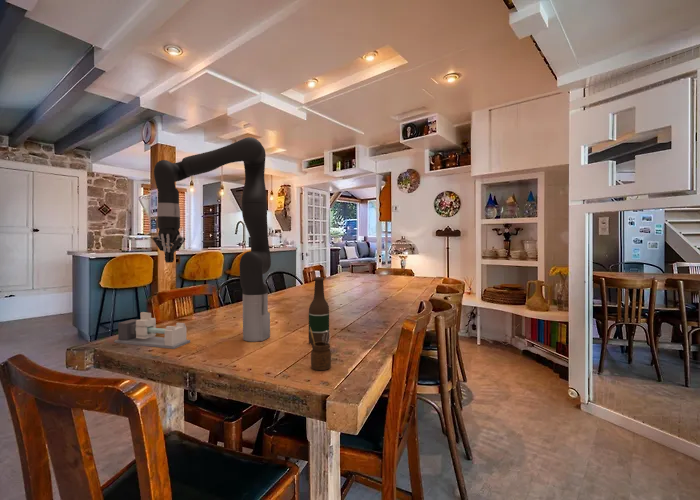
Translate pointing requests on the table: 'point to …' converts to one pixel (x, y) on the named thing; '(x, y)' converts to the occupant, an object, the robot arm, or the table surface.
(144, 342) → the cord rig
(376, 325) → the table surface
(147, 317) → the cream stepped block
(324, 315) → the beer bottle
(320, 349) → the utensil holder
